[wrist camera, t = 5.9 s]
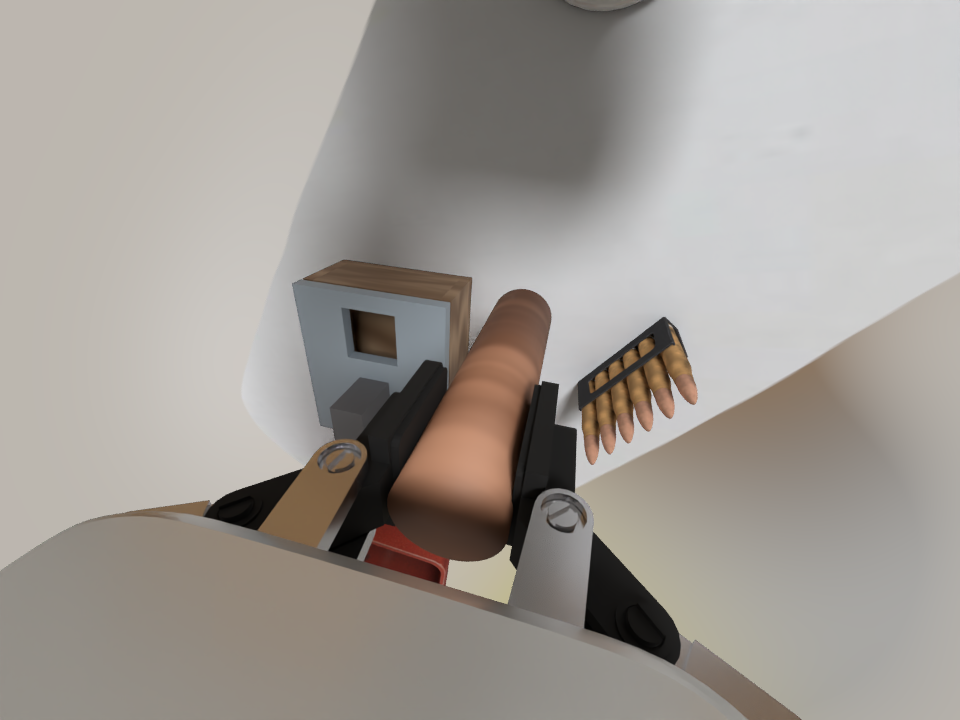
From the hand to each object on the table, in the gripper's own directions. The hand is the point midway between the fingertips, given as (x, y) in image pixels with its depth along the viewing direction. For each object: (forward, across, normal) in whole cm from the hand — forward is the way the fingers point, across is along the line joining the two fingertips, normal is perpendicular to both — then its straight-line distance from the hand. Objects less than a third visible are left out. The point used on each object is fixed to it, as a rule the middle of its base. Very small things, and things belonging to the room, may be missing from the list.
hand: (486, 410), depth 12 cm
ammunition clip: (+25, -9, +10) cm, 29 cm away
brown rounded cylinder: (+8, 0, 0) cm, 8 cm away
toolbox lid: (+18, +14, +12) cm, 26 cm away
